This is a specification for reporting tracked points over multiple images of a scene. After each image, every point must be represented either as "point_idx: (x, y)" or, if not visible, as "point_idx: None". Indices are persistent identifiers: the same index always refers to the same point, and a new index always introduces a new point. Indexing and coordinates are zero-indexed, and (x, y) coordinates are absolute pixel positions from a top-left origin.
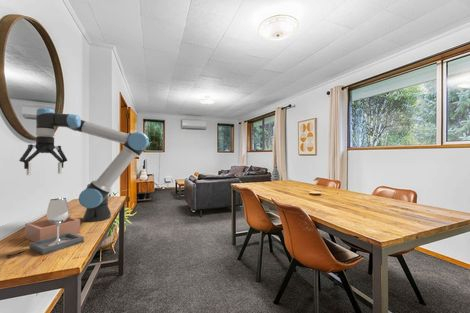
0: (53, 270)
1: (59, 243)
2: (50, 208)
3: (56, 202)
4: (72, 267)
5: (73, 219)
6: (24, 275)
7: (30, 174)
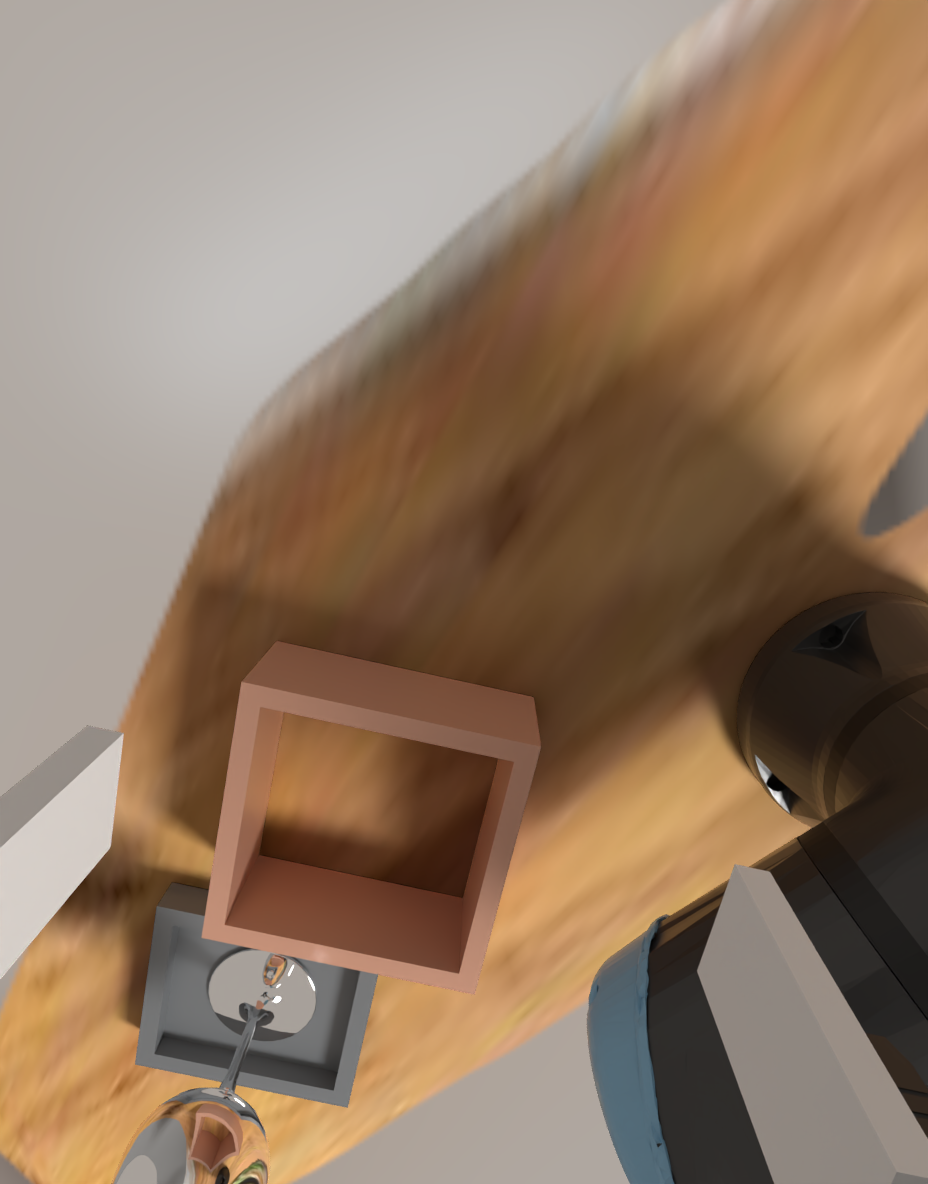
0: None
1: (220, 1072)
2: None
3: None
4: None
5: (470, 930)
6: (8, 1149)
7: (100, 855)
